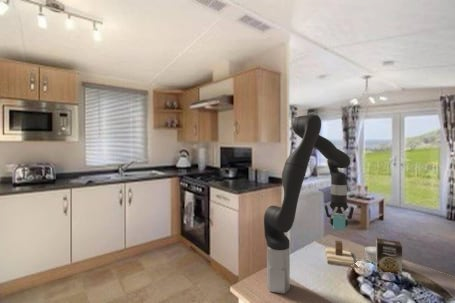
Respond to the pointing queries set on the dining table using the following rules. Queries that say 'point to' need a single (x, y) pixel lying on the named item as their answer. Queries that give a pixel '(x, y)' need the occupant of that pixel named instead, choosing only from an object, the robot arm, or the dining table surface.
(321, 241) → the dining table surface
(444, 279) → the dining table surface
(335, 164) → the robot arm
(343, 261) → the post block
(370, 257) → the ramekin
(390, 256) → the coffee box
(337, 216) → the teal toy cube
